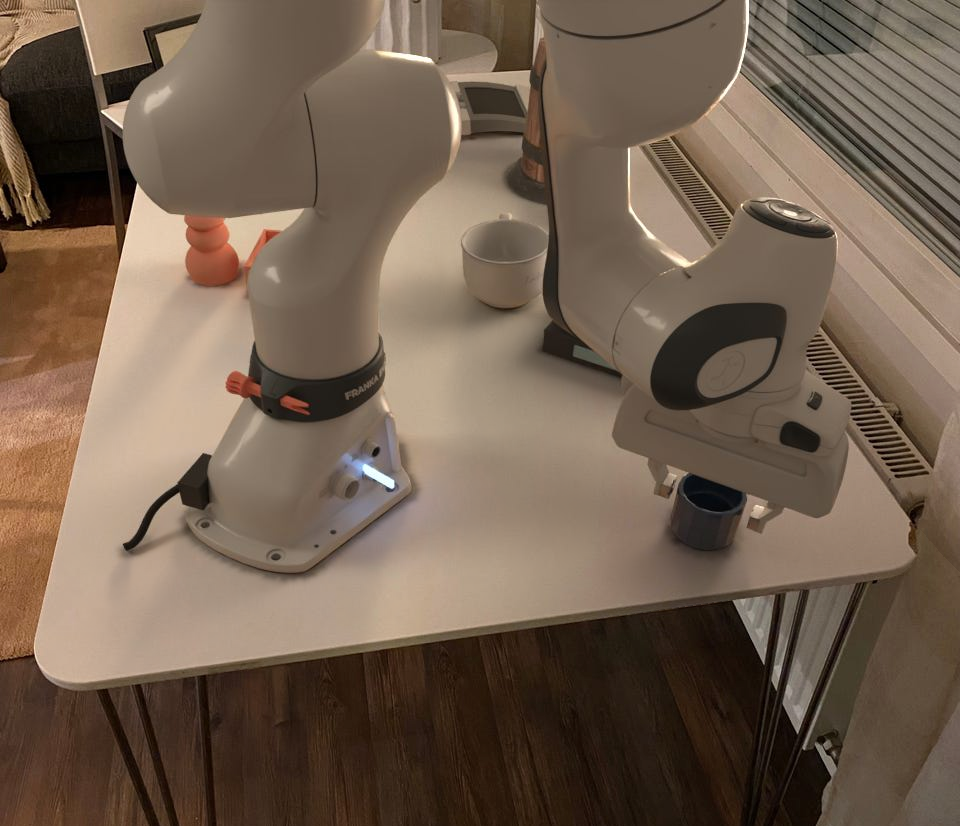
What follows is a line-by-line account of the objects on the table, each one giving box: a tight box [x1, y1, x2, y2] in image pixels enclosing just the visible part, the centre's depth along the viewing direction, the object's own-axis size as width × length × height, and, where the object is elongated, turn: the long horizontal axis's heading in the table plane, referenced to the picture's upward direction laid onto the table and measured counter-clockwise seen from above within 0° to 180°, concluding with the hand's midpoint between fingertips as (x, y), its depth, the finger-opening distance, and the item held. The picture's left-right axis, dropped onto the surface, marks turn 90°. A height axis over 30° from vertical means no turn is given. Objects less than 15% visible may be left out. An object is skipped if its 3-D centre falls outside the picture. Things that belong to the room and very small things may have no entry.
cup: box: [669, 472, 748, 551], centre depth 90 cm, size 6×6×5 cm
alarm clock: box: [450, 80, 530, 136], centre depth 162 cm, size 17×5×16 cm
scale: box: [541, 319, 622, 378], centre depth 114 cm, size 14×14×3 cm
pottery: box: [183, 215, 283, 298], centre depth 119 cm, size 18×10×10 cm, turn 85°
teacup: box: [460, 212, 549, 309], centre depth 120 cm, size 14×11×8 cm
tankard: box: [505, 36, 547, 205], centre depth 137 cm, size 24×17×20 cm
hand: (708, 509), depth 90 cm, fingers open, 8 cm apart
